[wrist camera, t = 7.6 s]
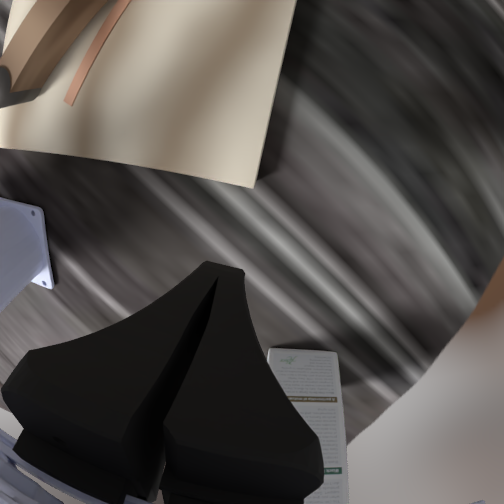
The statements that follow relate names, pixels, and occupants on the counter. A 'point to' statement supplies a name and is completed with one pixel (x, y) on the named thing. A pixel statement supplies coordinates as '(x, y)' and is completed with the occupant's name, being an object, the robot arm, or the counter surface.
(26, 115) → the board
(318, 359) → the syrup box
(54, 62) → the lever
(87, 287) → the counter surface
